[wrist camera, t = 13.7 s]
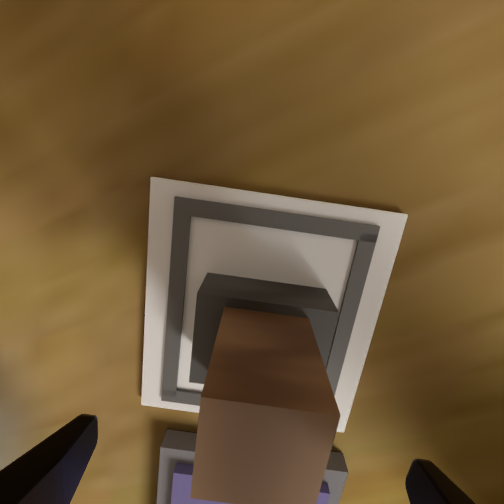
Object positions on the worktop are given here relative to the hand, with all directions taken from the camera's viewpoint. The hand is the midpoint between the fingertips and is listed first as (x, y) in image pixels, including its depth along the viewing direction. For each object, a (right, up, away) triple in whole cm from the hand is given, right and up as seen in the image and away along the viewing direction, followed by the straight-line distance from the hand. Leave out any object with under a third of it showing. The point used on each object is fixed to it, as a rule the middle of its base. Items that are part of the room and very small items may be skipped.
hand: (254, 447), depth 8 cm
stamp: (0, +2, +7) cm, 7 cm away
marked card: (0, +2, +7) cm, 8 cm away
